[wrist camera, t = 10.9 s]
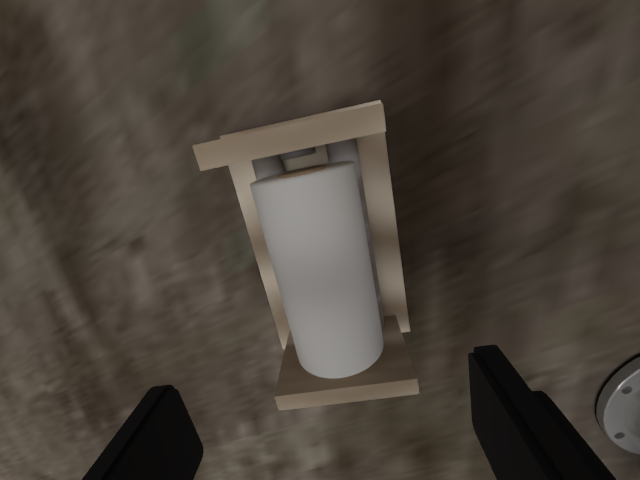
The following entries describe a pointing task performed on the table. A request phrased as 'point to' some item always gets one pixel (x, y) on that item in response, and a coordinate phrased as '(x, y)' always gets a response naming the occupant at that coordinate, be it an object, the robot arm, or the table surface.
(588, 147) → the table surface
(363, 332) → the paper roll
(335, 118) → the roll cradle
